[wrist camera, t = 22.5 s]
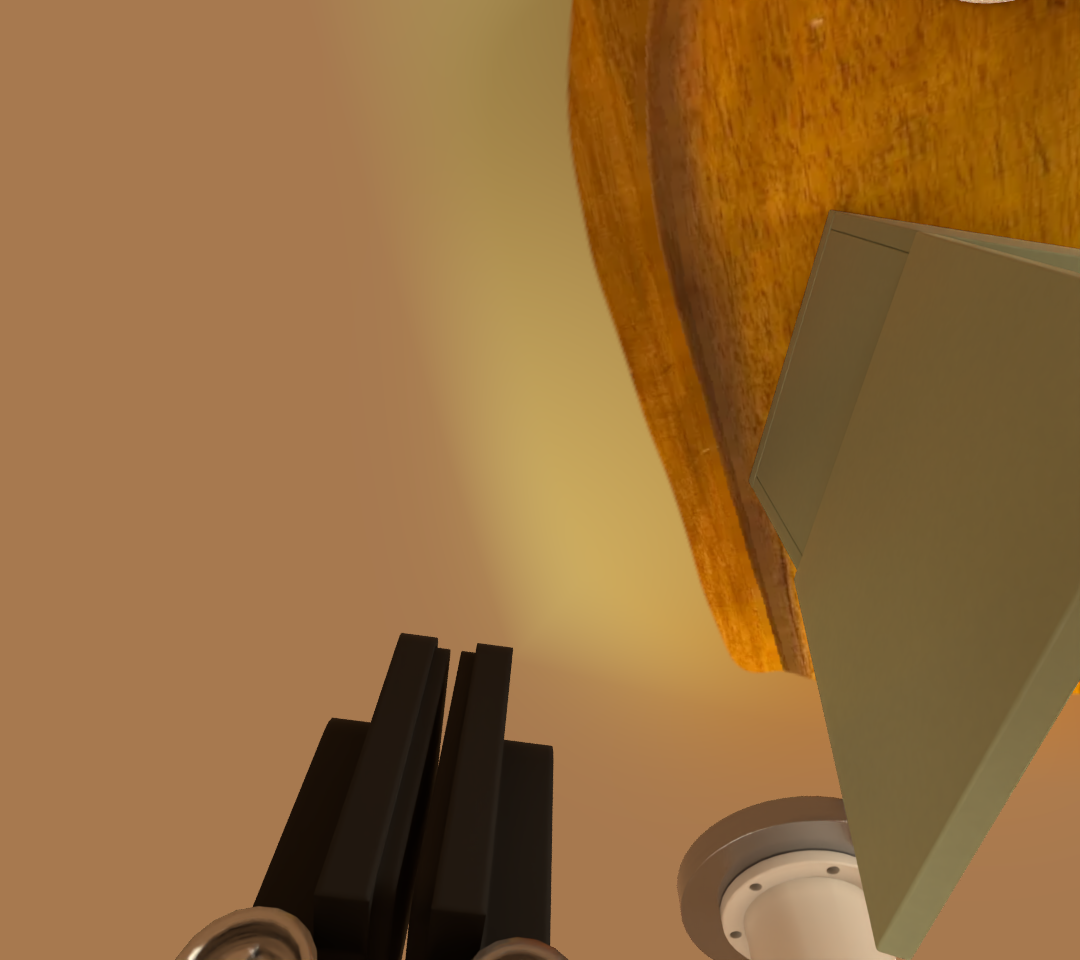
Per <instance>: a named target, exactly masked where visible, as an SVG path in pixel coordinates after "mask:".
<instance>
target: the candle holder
mask: <svg viewBox="0 0 1080 960" xmlns="http://www.w3.org/2000/svg"><path fill="white" fill-rule="evenodd" d="M960 1H965V2H972V3H1000V2H1007V1H1013V0H960Z"/></svg>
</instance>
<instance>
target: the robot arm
mask: <svg viewBox="0 0 1080 960" xmlns="http://www.w3.org/2000/svg"><path fill="white" fill-rule="evenodd" d="M512 654H513V648H510V647H503V646H495V645H487V644H480V643H478V644H477V648H476V653H473V652H465V651H462V652H461V656H460V661H459V666H458V671H457V676H456V681H455V686H454V691H453V696H452V701H451V706H450V711H449V716H448V721H447V726H446V731H445V736H444V741H443V745H442V751H441V756H440V760H439V752H440V743H441V733H442V725H443V716H444V707H445V697H446V688H447V679H448V670H449V661H450V650H449V649H442V648H438V638H435V637H428V636H420V635H413V634H405V633H401V635H400V637H399V640H398V642H397V645H396V648H395V651H394V654H393V658H392V660H391V664H390V666H389V670H388V672H387V676H386V678H385V681H384V684H383V687H382V690H381V693H380V696H379V699H378V702H377V705H376V708H375V711H374V714H373V717H372V721H371V723H370V722H362V721H354V720H347V719H338V718H332V719H331V720H330V721H329V722H328V724H327V726H326V728H325V730H324V733H323V735H322V738H321V740H320V742H319V745H318V747H317V750H316V752H315V755H314V757H313V760H312V762H311V765H310V767H309V770H308V772H307V774H306V777H305V779H304V782H303V784H302V787H301V789H300V792H299V794H298V797H297V799H296V802H295V804H294V806H293V809H292V811H291V814H290V816H289V819H288V822H287V824H286V826H285V829H284V831H283V833H282V836H281V838H280V841H279V843H278V846H277V848H276V851H275V853H274V856H273V858H272V861H271V863H270V865H269V868H268V871H267V873H266V875H265V878H264V880H263V883H262V886H261V888H260V890H259V893H258V895H257V897H256V900H255V902H254V905H253V907H252V908H246V909H241V910H236V911H234V912H232V913H230V914H228V915H225V916H223V917H221V918H219V919H216V920H214V921H213V922H212V923H210V924H209V925H208V926H206V927H205V928H204V929H203V930H201V931H200V932H199V933H197V934H196V935H195V936H194V937H193V938H192V939H191V940H190V941H189V943H188V944H187V945H186V947H185V948H184V949H183V950H182V951H181V953H180V954H179V955H178V956H177V958H176V959H175V960H401V959H402V954H403V949H404V944H405V939H406V934H407V929H408V939H407V949H406V959H405V960H568V959H567V958H566V957H565V956H563V955H562V954H561V953H560V952H559V951H558V950H556V948H554V947H551V946H550V917H551V916H550V915H551V862H552V806H553V804H552V803H553V747H552V746H548V745H540V744H533V743H532V744H531V743H525V742H517V741H509V740H504V733H505V723H506V713H507V703H508V692H509V683H510V674H511V663H512ZM438 762H439V765H438ZM720 915H721V921H722V926H723V930H724V934H725V936H726V938H727V939H728V941H729V943H730V944H731V945H732V946H733V947H734V948H735V949H736V950H737V951H738V952H739V953H741V954H742V955H743V956H745V957H746V958H748V959H750V960H896V957H895V956H892V955H889V954H885V953H882V952H879V951H878V950H877V949H876V946H875V941H874V937H873V932H872V928H871V923H870V919H869V914H868V910H867V905H866V901H865V896H864V892H863V887H862V883H861V878H860V874H859V869H858V865H857V860H856V857H853V856H850V855H847V854H844V853H839V852H833V851H826V850H806V851H795V852H790V853H785V854H781V855H777V856H774V857H771V858H768V859H766V860H763V861H761V862H759V863H757V864H755V865H753V866H752V867H750V868H748V869H747V870H745V871H744V872H743V873H742V874H740V875H739V876H738V877H737V878H736V879H735V880H734V881H733V882H732V883H731V884H730V886H729V887H728V888H727V890H726V892H725V894H724V896H723V898H722V902H721V906H720ZM408 924H409V928H408Z"/></svg>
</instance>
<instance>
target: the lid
mask: <svg viewBox="0 0 1080 960" xmlns="http://www.w3.org/2000/svg"><path fill="white" fill-rule="evenodd" d="M794 581H795V586H796V590H797V595H798V599H799V604H800V608H801V613H802V617H803V622H804V626H805V631H806V635H807V640H808V644H809V649H810V653H811V658H812V662H813V667H814V671H815V676H816V680H817V685H818V689H819V694H820V698H821V702H822V707H823V712H824V716H825V721H826V725H827V730H828V734H829V739H830V743H831V748H832V752H833V757H834V761H835V766H836V770H837V775H838V779H839V784H840V788H841V793H842V797H843V802H844V806H845V811H846V815H847V820H848V824H849V829H850V833H851V838H852V842H853V847H854V851H855V856H856V860H857V865H858V869H859V874H860V878H861V883H862V887H863V892H864V896H865V901H866V905H867V910H868V914H869V919H870V923H871V928H872V932H873V937H874V941H875V946H876V949H877V950H878V951H879V952H882V953H885V954H889V955H892V956H896V957H899V958H902V959H906V960H910V959H912V957H913V956H914V954H915V952H916V951H917V949H918V947H919V945H920V944H921V942H922V941H923V939H924V937H925V936H926V934H927V932H928V931H929V929H930V928H931V926H932V924H933V923H934V921H935V919H936V918H937V916H938V914H939V913H940V911H941V909H942V908H943V906H944V904H945V903H946V901H947V899H948V898H949V896H950V894H951V892H952V891H953V889H954V888H955V886H956V884H957V883H958V881H959V879H960V878H961V876H962V875H963V873H964V871H965V870H966V868H967V866H968V865H969V863H970V861H971V860H972V858H973V856H974V855H975V853H976V851H977V850H978V848H979V846H980V845H981V843H982V841H983V840H984V838H985V836H986V835H987V833H988V831H989V830H990V828H991V827H992V825H993V823H994V822H995V820H996V818H997V817H998V815H999V813H1000V811H1001V810H1002V808H1003V807H1004V805H1005V803H1006V802H1007V800H1008V798H1009V797H1010V795H1011V793H1012V792H1013V790H1014V788H1015V787H1016V785H1017V783H1018V782H1019V780H1020V778H1021V777H1022V775H1023V773H1024V772H1025V770H1026V769H1027V767H1028V765H1029V764H1030V762H1031V760H1032V758H1033V757H1034V755H1035V754H1036V752H1037V750H1038V748H1039V747H1040V745H1041V744H1042V742H1043V740H1044V739H1045V737H1046V735H1047V734H1048V732H1049V730H1050V729H1051V727H1052V725H1053V724H1054V722H1055V720H1056V719H1057V717H1058V716H1059V714H1060V712H1061V711H1062V709H1063V707H1064V705H1065V704H1066V702H1067V700H1068V699H1069V697H1070V696H1071V694H1072V692H1073V691H1074V689H1075V687H1076V686H1077V684H1078V682H1079V681H1080V273H1077V272H1074V271H1070V270H1066V269H1063V268H1059V267H1055V266H1052V265H1048V264H1044V263H1041V262H1037V261H1033V260H1030V259H1026V258H1022V257H1019V256H1015V255H1012V254H1008V253H1004V252H1001V251H997V250H993V249H990V248H986V247H982V246H979V245H975V244H971V243H968V242H964V241H960V240H957V239H953V238H949V237H946V236H942V235H938V234H933V233H926V232H920V231H919V232H917V233H916V235H915V238H914V240H913V243H912V246H911V249H910V252H909V255H908V258H907V260H906V263H905V266H904V269H903V272H902V275H901V277H900V280H899V283H898V286H897V289H896V292H895V294H894V297H893V300H892V303H891V306H890V309H889V311H888V314H887V317H886V320H885V323H884V326H883V328H882V331H881V334H880V337H879V340H878V343H877V345H876V348H875V351H874V354H873V357H872V360H871V362H870V365H869V368H868V371H867V374H866V377H865V379H864V382H863V385H862V388H861V391H860V394H859V396H858V399H857V402H856V405H855V408H854V411H853V413H852V416H851V419H850V422H849V425H848V428H847V430H846V433H845V436H844V439H843V442H842V445H841V447H840V450H839V453H838V456H837V459H836V462H835V464H834V467H833V470H832V473H831V476H830V479H829V481H828V484H827V487H826V490H825V493H824V496H823V498H822V501H821V504H820V507H819V510H818V513H817V515H816V518H815V521H814V524H813V527H812V530H811V532H810V535H809V538H808V541H807V544H806V547H805V550H804V552H803V555H802V558H801V561H800V564H799V567H798V569H797V572H796V575H795V578H794Z"/></svg>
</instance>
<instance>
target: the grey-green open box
mask: <svg viewBox="0 0 1080 960" xmlns="http://www.w3.org/2000/svg"><path fill="white" fill-rule="evenodd" d="M919 231H920V232H926V233H933V234H938V235H942V236H946V237H949V238H953V239H957V240H960V241H964V242H968V243H971V244H975V245H979V246H982V247H986V248H990V249H993V250H997V251H1001V252H1004V253H1008V254H1012V255H1015V256H1019V257H1022V258H1026V259H1030V260H1033V261H1037V262H1041V263H1044V264H1048V265H1052V266H1055V267H1059V268H1063V269H1066V270H1070V271H1074V272H1077V273H1080V249H1077V248H1070V247H1064V246H1057V245H1051V244H1045V243H1038V242H1032V241H1026V240H1019V239H1013V238H1006V237H1000V236H994V235H987V234H981V233H975V232H968V231H962V230H955V229H949V228H943V227H936V226H930V225H924V224H917V223H911V222H904V221H898V220H892V219H885V218H879V217H873V216H866V215H860V214H853V213H847V212H841V211H834V210H830V211H829V214H828V217H827V221H826V224H825V227H824V231H823V234H822V237H821V241H820V244H819V248H818V251H817V254H816V258H815V261H814V264H813V268H812V271H811V274H810V278H809V281H808V284H807V288H806V291H805V294H804V298H803V301H802V304H801V308H800V311H799V314H798V318H797V321H796V325H795V328H794V331H793V335H792V338H791V341H790V345H789V348H788V351H787V355H786V358H785V361H784V365H783V368H782V371H781V375H780V378H779V381H778V385H777V388H776V391H775V395H774V398H773V401H772V405H771V408H770V412H769V415H768V418H767V422H766V425H765V428H764V432H763V435H762V438H761V442H760V445H759V448H758V452H757V455H756V458H755V462H754V465H753V468H752V472H751V475H750V478H749V483H750V485H751V487H752V488H753V490H754V492H755V493H756V495H757V497H758V499H759V501H760V503H761V504H762V506H763V508H764V510H765V512H766V514H767V515H768V517H769V519H770V521H771V523H772V525H773V526H774V528H775V530H776V532H777V534H778V536H779V538H780V539H781V541H782V543H783V545H784V547H785V549H786V550H787V552H788V554H789V556H790V558H791V560H792V561H793V563H794V565H795V567H796V569H798V567H799V564H800V561H801V558H802V555H803V552H804V550H805V547H806V544H807V541H808V538H809V535H810V532H811V530H812V527H813V524H814V521H815V518H816V515H817V513H818V510H819V507H820V504H821V501H822V498H823V496H824V493H825V490H826V487H827V484H828V481H829V479H830V476H831V473H832V470H833V467H834V464H835V462H836V459H837V456H838V453H839V450H840V447H841V445H842V442H843V439H844V436H845V433H846V430H847V428H848V425H849V422H850V419H851V416H852V413H853V411H854V408H855V405H856V402H857V399H858V396H859V394H860V391H861V388H862V385H863V382H864V379H865V377H866V374H867V371H868V368H869V365H870V362H871V360H872V357H873V354H874V351H875V348H876V345H877V343H878V340H879V337H880V334H881V331H882V328H883V326H884V323H885V320H886V317H887V314H888V311H889V309H890V306H891V303H892V300H893V297H894V294H895V292H896V289H897V286H898V283H899V280H900V277H901V275H902V272H903V269H904V266H905V263H906V260H907V258H908V255H909V252H910V249H911V246H912V243H913V240H914V238H915V235H916V233H917V232H919Z"/></svg>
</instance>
